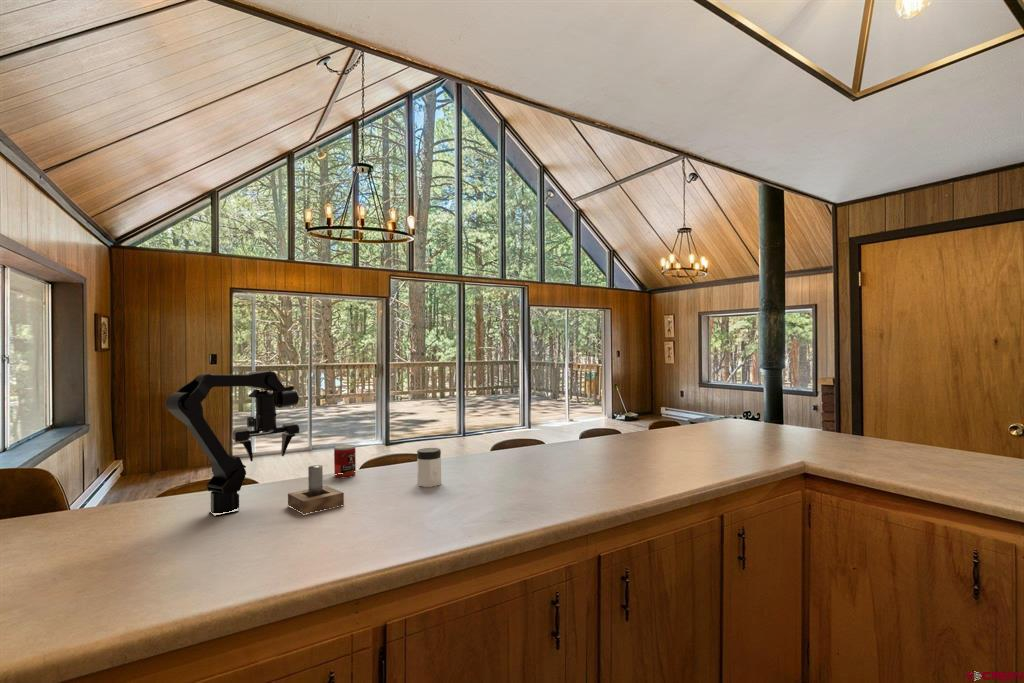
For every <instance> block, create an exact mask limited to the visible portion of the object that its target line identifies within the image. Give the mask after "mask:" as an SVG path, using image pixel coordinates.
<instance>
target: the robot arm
mask: <svg viewBox="0 0 1024 683" xmlns="http://www.w3.org/2000/svg"><path fill="white" fill-rule="evenodd" d="M220 387H222V388H223V387H224V388H225V387H227V388H228V387H247V388H251V389H253V390H252V392H251V393H250V394H249V395H248V398H255V416H248V417H246V426H247V428H249V429H250V428H253V430H248V429H247V428H240V429H234V430H233V431H232V432H231V433H232V434H231V435H232V436H231V438H232V440H233V442H238V443H239V444H241V445H242V446H244V448H245V451H246V453H247V455H248V458H249V461H250V462H253V461H254V457H253V456H254V454H253V448H252V446H253V445H252V440H250V438H252V437H260V436H266V435H273V434H281V449H280V450H281V451H280V452H281V457H284V456H285V454H286V451H287V449H288V446H289V444H290V442H291V440H292V439H293V437H296V434H299V433H300V426H299V425H298V424H297V423H296V422H295V423H294V422H291V423H282V425H281V426H277V408H278V409H282V408H289V407H293V406H297V404H298V402H299V399H300V398H299V397H300V396H299V394H298V392H297V390H296V389H295V386H294V385H287V386H285V385H283V383H282V382H281V381H280V379H279V378H278V375H277V373H276V372H275V371H273V370H272V371H271V370H258V371H253V372H252V371H251V372H247V373H243V374H212V373H200V374H198V375H197V376H195V377H194V378H193V379H192V380H190V381H189V382H188V383H187V384H185V385H183V386H182V387H180V388H179V389H178V390H177V391H175V392H173V393H171V394H170V395H168V396H167V398H166V399H165V403H164V406H165V408H166V410H168V412H170V413H171V415H172V416H174V418H176V419H177V420H179V421H180V422H182V423H183V424H184V425H185V426H186V428H187V429H188V430H189V431H190V434H191V435H192V436H193V437H194V439H195V440H196V442H197V443H198V445H199V446H200V448H201V449H202V451H203V452H204V454H205V456H207V458H208V460H209V461H210V464H211V472H212V475H213V476H212V477H211V478H210V479H209V480H208V481H207V483H206V484H205V487H206V489H207V492H210V510H211V512H212V513H223V512H229V511H232V510H234V509H237V508H238V509H239V508H240V494H239V493H238V492H241V488H242V485H243V482H244V480H245V479H246V475H247V471H246V468H247V465H244V463H243V461H242V459H241V458H240V456H236V455H229V454H228V453H227V451H226V449H225V448H224V446H223V445H222V443H221V441H220V440H219V439H218V437H217V435H216V433H215V432H214V431H213V429H212V428H211V426H210V425H209V424H208V421H207V420H206V418H205V417H204V407H203V404H202V403H203V401H204V400H206V398H207V396H208V395H209V394H210V391H211V390H212V389H213V388H220Z"/></svg>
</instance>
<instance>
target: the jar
mask: <svg viewBox="0 0 1024 683" xmlns="http://www.w3.org/2000/svg"><path fill="white" fill-rule="evenodd" d="M441 451H442V450H441V448H438V447H425V448H424V447H423V448H419V449H417V451H416V454H417V455H416V456H417V458H416V459H417V460H416V462H417V465H416V466H417V470H416V471H417V486H418V487H419V486H423V487H422V488H433V486H434V487H438V486H437V485H439V486H441V485H442V458H441V454H442V452H441Z"/></svg>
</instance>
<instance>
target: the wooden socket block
mask: <svg viewBox="0 0 1024 683" xmlns="http://www.w3.org/2000/svg"><path fill="white" fill-rule="evenodd" d="M344 493H345V492H343V491H340V490H338V489H336V488H334V487H331V486H328V485H323V495H319V496H314V497H309V491H308V489H303V490H298V491H294V492H289V493H287V506H288V505H289V506H291V507H293V508H294V509H296V510H298V511H300V512H302V513H303V514H306V513H310V512H315V511H320V510H324V509H329V508H333V507H337V506H341V505H344V506H345V498H344V495H345V494H344ZM337 508H338V507H337ZM333 509H334V508H333ZM329 510H330V509H329Z"/></svg>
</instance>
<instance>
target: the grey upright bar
mask: <svg viewBox="0 0 1024 683" xmlns="http://www.w3.org/2000/svg"><path fill="white" fill-rule="evenodd" d="M307 469H308V470H307V471H308V473H307V474H308V482H307V483H308V484H307V485H308V489H307V490H308V491H309V497H314V496H319V495H323V486H324V485H323V484H324V483H323V482H324V481H323V479H324V475H323V472H324V471H323V465H321V464H315V465H310V466H308V467H307Z"/></svg>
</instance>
